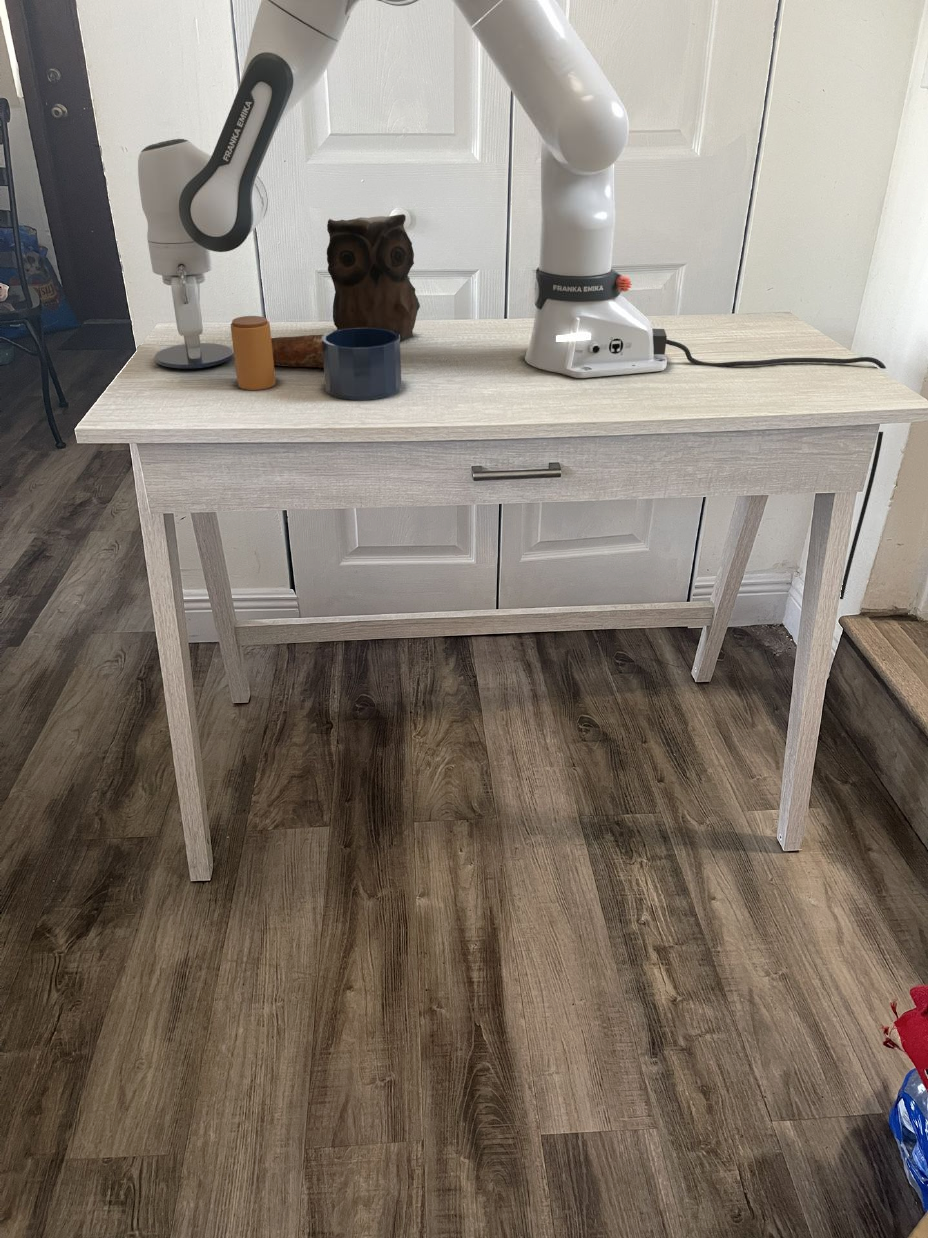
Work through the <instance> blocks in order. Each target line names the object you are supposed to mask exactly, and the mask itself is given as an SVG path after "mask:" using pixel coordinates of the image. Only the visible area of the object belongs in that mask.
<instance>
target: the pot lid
mask: <svg viewBox="0 0 928 1238" xmlns="http://www.w3.org/2000/svg"><path fill="white" fill-rule="evenodd" d="M200 337H201V336H199V347H200V355H201V356H200V358H198V359H190V358H189V355H188V349H187V345H186V341H185V336H183V340H184V344H183V343H182V344H177V345H173V346H169V347H165V348H163V349H161V350H159V351H157V352H156V353H155V354H154V361H155V363H156V364H158V365H160V366H163V367H167V368H172V369H182V370H195V369H206V368H210V367H214V366H217V365H220V364H224V363H226V362H228V361H230V360H231V359H232V358H234V350H233V348H231V347H229V346H227V345H225V344H220V343H212V342H201V338H200Z"/></svg>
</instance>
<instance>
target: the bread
mask: <svg viewBox="0 0 928 1238" xmlns="http://www.w3.org/2000/svg"><path fill="white" fill-rule="evenodd" d="M325 334H326V333H325ZM325 334H324V333H323V334H309V335H308V334H307V335H294V336H279V337H278V336H277V337H271V341H272V351H273V360H274V366H279V367H294V368H298V367H303V368H320V369H324V363H323V350H322V336H324V335H325Z"/></svg>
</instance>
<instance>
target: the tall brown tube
mask: <svg viewBox="0 0 928 1238" xmlns="http://www.w3.org/2000/svg"><path fill="white" fill-rule="evenodd" d="M229 326H230V333H231V340H232V347H233V348H232V350H233V358H234V366H235V372H236V381H237V386H238V388H240V389H242V390H245V391H260V390H267V389H271V388H273V387H275V386H276V384H277V379H276V370H275V365H274V360H273V351H272V341H271V338H272V331H271V323H270V321H269V320H268V318H267V317H265V316H261V315H243V316H239V317H235V318H234V319H232V320H231V323H230V325H229Z"/></svg>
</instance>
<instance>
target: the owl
mask: <svg viewBox="0 0 928 1238" xmlns="http://www.w3.org/2000/svg"><path fill="white" fill-rule="evenodd" d="M406 220H407V219H406V215H405V213H402V214H401V213H400V214H395V215H394V214H393V215H389V216H388V215H387V216H385V215H384V216H383V215H382V216H381V215H380V216H379V215H378V216H370V217H363V216H362V217H357V218H353V219H352V218H351V219H347V220H346V219H340V220H334V219H332V218H329V219H327V224H326V228H327V229H326V231H327V233H328V236H329V243H328V246H327V248H326V261H327V272H328V274H329V276H330V279H331V281H332V283H333V287H334V297H333V303H332V322H333V325H334V326H335V328H336V330H339V329H345V328H353V327H373V328H383V329H388V330H392V331H394V332H396V333H398V334H399V335H400V342H403V341H405V340H407V339H411V338H413V337H414V328H415V324H416V321H417V316H418V312H419V309H420V308H421V304H420V302H419V298H418V296H417V293H416V287H414V285H413V284H412V282H411V280H410V279H411V278H410V276H409V273H410V271H411V269H412V268H413V266H414V265H415V261H414V258H415V253H414V248H413V242H412V241H411V238H410V237H409V235H408V233H407V231H406V228H405V227H404V226H405V222H406Z"/></svg>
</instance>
